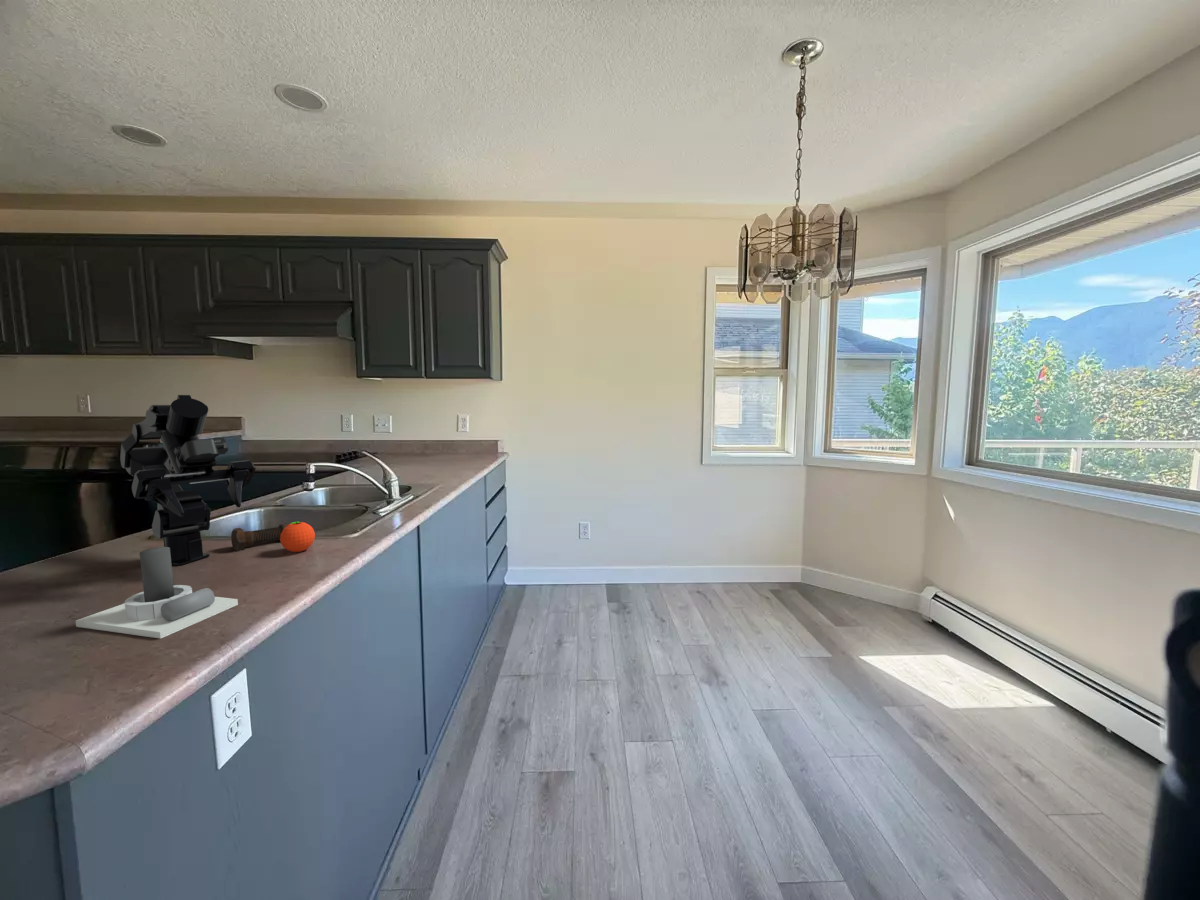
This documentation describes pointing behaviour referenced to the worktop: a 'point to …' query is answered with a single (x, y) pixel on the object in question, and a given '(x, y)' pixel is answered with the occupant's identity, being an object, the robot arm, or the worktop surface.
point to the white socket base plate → (159, 613)
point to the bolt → (255, 536)
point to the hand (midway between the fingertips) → (212, 510)
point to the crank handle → (157, 574)
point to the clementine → (297, 536)
